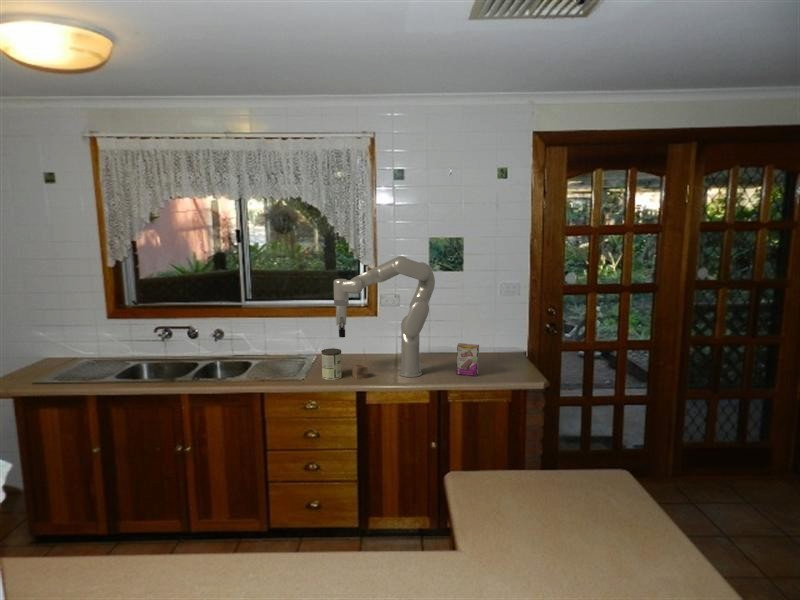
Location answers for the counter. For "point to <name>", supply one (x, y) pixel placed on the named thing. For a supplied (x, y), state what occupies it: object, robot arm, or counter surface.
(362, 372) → the walnut cube
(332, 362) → the coffee can
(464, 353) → the candy bar box
